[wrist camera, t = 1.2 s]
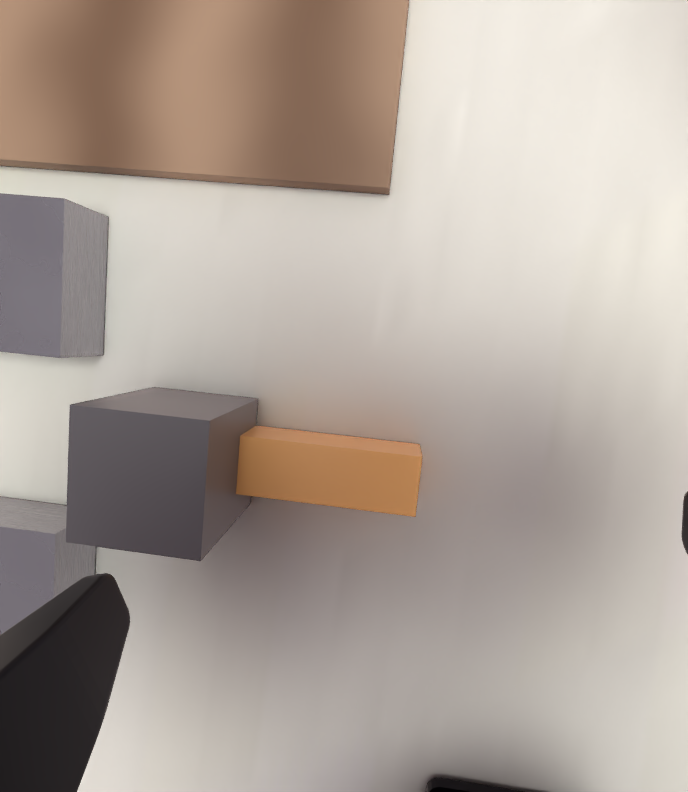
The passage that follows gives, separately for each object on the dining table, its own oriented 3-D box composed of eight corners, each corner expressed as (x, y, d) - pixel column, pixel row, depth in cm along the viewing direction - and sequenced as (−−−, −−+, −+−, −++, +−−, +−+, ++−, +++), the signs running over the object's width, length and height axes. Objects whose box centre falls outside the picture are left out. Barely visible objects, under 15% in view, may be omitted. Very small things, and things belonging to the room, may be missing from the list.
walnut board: (422, -133, 16) (424, -157, 16) (389, 194, 18) (389, 187, 17) (-99, -144, 18) (-122, -166, 17) (-96, 158, 19) (-118, 150, 18)
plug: (422, 416, 18) (433, 446, 13) (410, 523, 19) (415, 590, 14) (153, 387, 19) (69, 404, 14) (148, 490, 20) (65, 542, 15)
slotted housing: (108, 216, 19) (64, 198, 16) (92, 629, 21) (51, 669, 18) (-46, 204, 19) (-112, 184, 17) (-47, 608, 21) (-106, 644, 19)
